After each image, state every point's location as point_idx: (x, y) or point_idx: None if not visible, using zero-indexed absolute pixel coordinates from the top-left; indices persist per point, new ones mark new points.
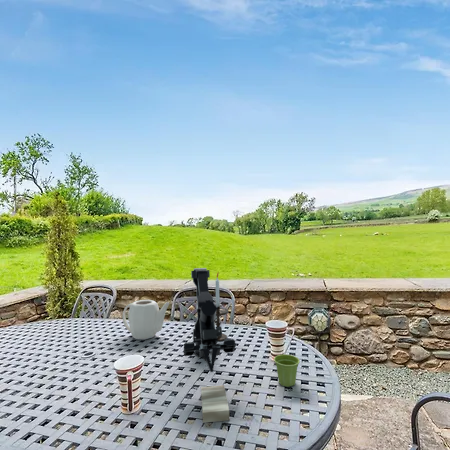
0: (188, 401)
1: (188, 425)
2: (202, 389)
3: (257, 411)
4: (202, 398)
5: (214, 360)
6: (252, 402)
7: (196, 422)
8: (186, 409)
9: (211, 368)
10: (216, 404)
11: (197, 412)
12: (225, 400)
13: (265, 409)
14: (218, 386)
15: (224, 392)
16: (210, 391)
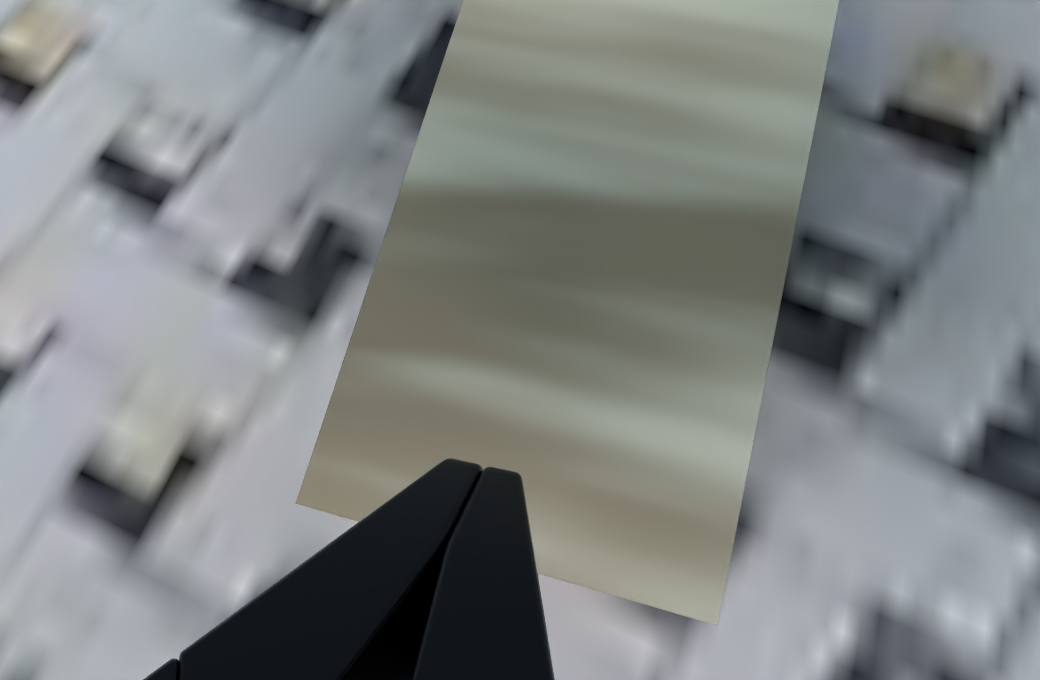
0: (927, 530)
1: (990, 26)
2: (712, 527)
3: (175, 15)
4: (780, 245)
5: (190, 658)
6: (123, 179)
7: (886, 46)
8: (982, 337)
9: (469, 501)
10: (618, 28)
11: (838, 220)
12: (463, 73)
13: (82, 20)
14: None
15: (388, 273)
16: (592, 395)
